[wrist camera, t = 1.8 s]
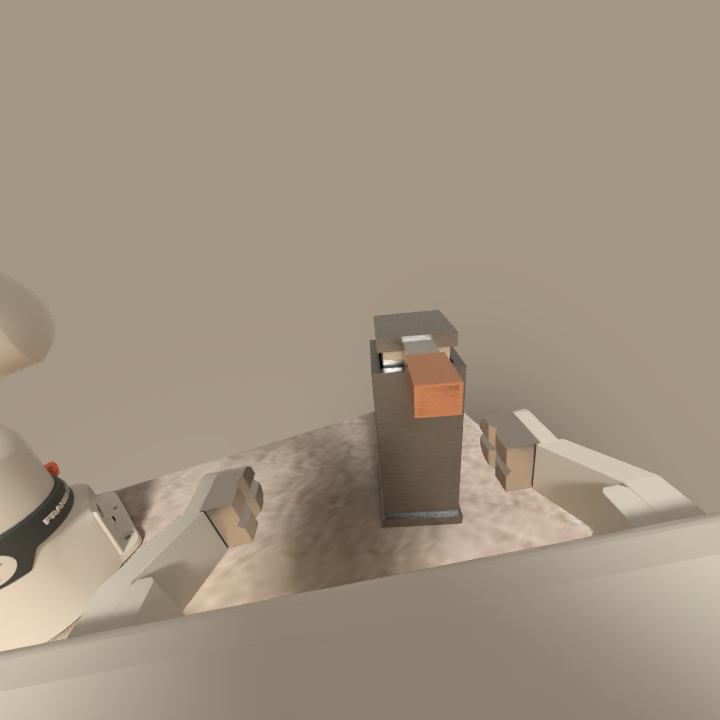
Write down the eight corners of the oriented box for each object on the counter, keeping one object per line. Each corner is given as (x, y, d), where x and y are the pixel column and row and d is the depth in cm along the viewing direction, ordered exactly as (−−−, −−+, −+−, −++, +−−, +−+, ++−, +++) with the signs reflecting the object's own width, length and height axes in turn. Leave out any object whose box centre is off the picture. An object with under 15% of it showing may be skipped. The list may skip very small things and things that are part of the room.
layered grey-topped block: (385, 455, 48) (373, 316, 38) (436, 451, 48) (438, 310, 38) (396, 576, 31) (381, 386, 22) (475, 573, 31) (497, 377, 21)
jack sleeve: (378, 468, 51) (366, 339, 41) (442, 463, 50) (445, 332, 40) (382, 527, 41) (366, 376, 31) (462, 523, 40) (472, 367, 30)
